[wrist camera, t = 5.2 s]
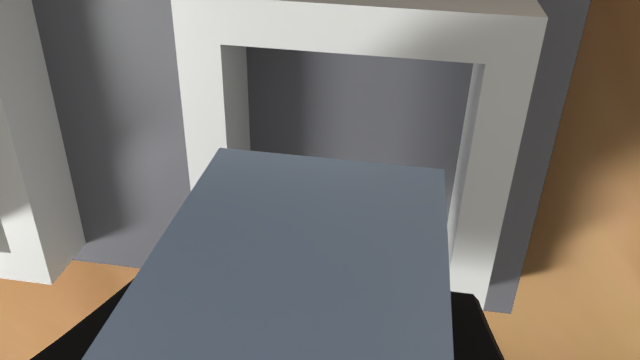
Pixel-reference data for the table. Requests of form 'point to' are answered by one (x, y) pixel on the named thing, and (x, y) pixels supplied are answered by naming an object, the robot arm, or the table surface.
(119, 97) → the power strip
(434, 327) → the blue plug
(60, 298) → the table surface
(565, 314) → the table surface
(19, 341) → the table surface
